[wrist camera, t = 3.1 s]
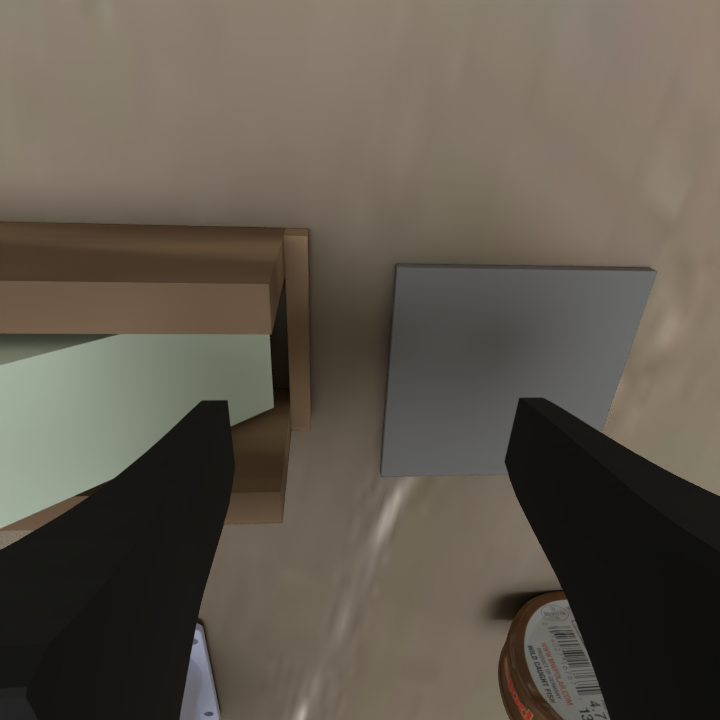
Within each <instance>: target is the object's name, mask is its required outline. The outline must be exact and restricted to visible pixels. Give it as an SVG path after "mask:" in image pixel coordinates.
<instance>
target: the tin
mask: <svg viewBox="0 0 720 720" xmlns="http://www.w3.org/2000/svg"><path fill="white" fill-rule="evenodd" d="M498 679H499V687H500V693H501V697H502V700H503V704H504V707H505V709H506V712H507V714H508V717H509V719H510V720H610V717H609V714H608V711H607V708H606V705H605V702H604V699H603V696H602V693H601V690H600V687H599V684H598V681H597V678H596V675H595V672H594V670H593V667H592V664H591V661H590V659H589V656H588V653H587V650H586V647H585V645H584V642H583V639H582V636H581V634H580V631H579V629H578V626H577V624H576V621H575V618H574V616H573V613H572V611H571V608H570V606H569V603H568V601H567V598H566V595H565V593H564V591H557V592H550V593H545V594H542V595H539V596H537V597H535V598H533V599H531V600H529V601H528V602H527V603H526V604H525V605H524V606H523V607H522V608H521V609H520V610H519V611H518V613H517V614H516V616H515V618H514V619H513V622H512V624H511V626H510V629H509V632H508V636H507V639H506V642H505V644H504V646H503V648H502V651H501V654H500V659H499V666H498Z"/></svg>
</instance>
